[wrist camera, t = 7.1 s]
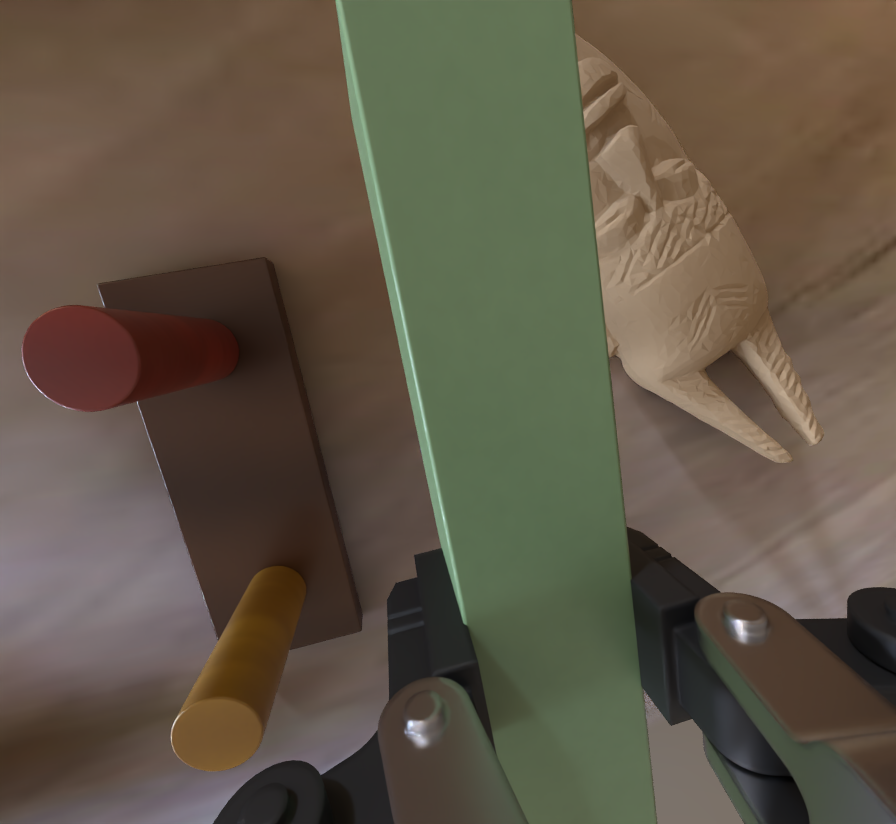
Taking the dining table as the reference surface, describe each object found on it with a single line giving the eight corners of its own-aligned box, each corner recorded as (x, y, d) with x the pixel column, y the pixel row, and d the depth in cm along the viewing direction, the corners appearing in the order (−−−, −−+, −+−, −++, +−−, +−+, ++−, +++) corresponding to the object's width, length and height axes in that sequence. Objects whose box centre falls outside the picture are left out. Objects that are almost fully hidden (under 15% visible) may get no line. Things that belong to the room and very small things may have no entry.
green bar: (350, 114, 8) (333, -16, 5) (503, 95, 8) (570, -38, 5) (511, 884, 12) (553, 1062, 9) (607, 850, 12) (678, 1010, 9)
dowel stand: (115, 287, 21) (-131, 241, 11) (273, 261, 22) (179, 198, 12) (235, 648, 26) (138, 852, 16) (363, 615, 27) (350, 787, 17)
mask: (605, -127, 18) (883, 395, 24) (557, -27, 23) (801, 389, 29) (427, 12, 17) (759, 510, 24) (415, 85, 22) (695, 485, 29)
